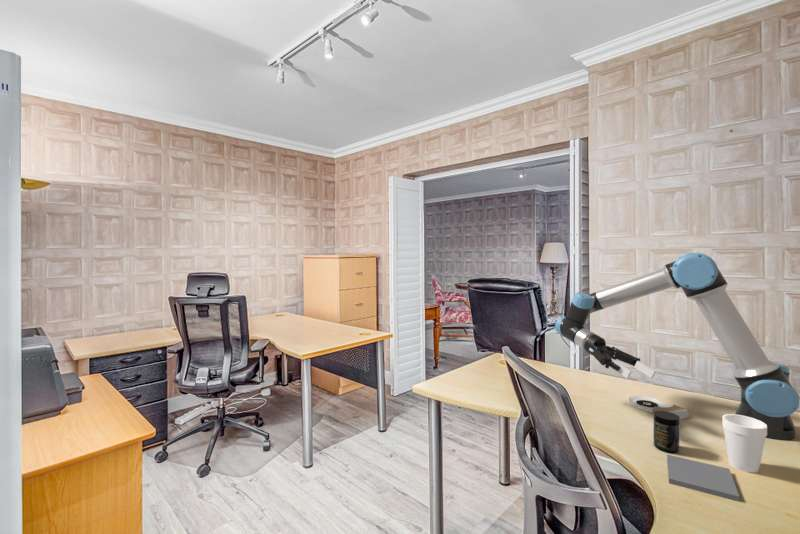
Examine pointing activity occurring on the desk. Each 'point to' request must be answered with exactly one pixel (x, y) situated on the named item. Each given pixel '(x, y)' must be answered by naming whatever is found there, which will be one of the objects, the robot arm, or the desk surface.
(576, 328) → the robot arm
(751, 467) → the foam cup
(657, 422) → the supplement container
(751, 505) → the desk surface
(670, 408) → the record player
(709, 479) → the mat
